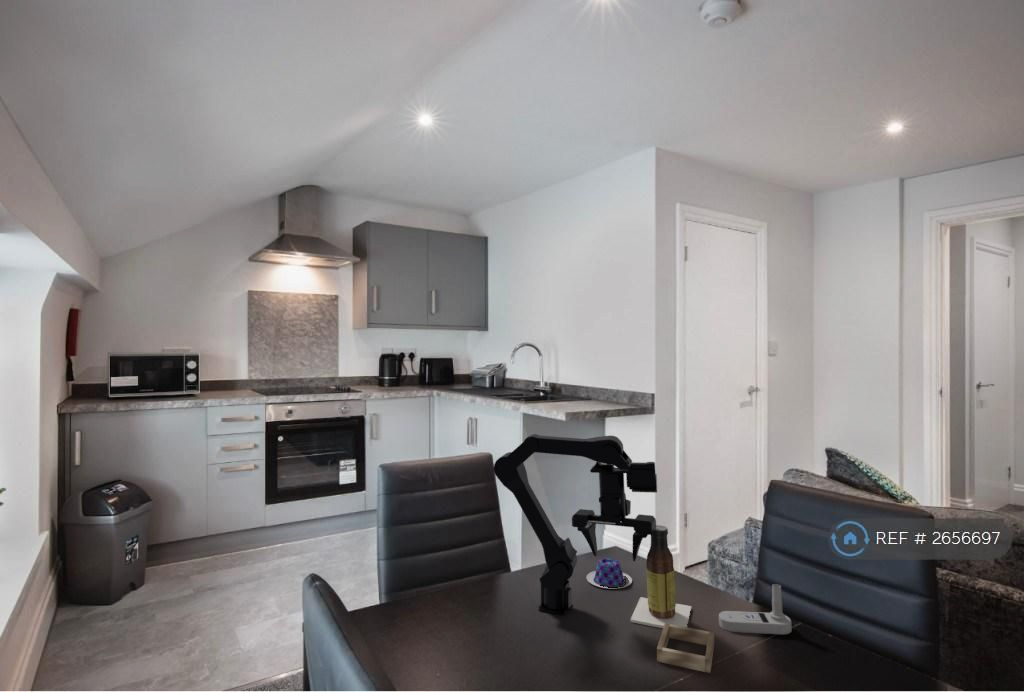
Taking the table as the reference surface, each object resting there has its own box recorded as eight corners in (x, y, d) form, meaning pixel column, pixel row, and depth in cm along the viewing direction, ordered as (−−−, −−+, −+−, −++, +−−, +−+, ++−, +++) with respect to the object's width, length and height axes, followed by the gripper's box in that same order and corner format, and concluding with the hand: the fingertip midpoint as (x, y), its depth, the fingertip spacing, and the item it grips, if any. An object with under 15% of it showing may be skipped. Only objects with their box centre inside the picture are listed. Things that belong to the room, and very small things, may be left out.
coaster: (630, 622, 125) (630, 619, 125) (640, 599, 136) (640, 597, 136) (685, 632, 120) (685, 630, 120) (691, 608, 131) (691, 606, 131)
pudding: (582, 572, 153) (582, 554, 153) (625, 571, 153) (625, 552, 153) (591, 592, 141) (591, 571, 141) (637, 590, 141) (637, 570, 141)
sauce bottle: (670, 606, 131) (669, 522, 131) (679, 619, 125) (679, 531, 125) (643, 607, 130) (642, 523, 130) (651, 620, 124) (651, 532, 124)
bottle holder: (656, 661, 109) (656, 648, 109) (665, 634, 119) (665, 623, 119) (710, 673, 105) (710, 660, 105) (714, 644, 115) (714, 632, 115)
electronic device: (715, 578, 126) (785, 581, 123) (717, 621, 126) (787, 624, 123) (720, 589, 121) (793, 591, 118) (721, 633, 121) (795, 637, 118)
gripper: (659, 485, 132) (662, 551, 132) (584, 480, 140) (587, 542, 140) (649, 497, 122) (652, 568, 121) (569, 491, 130) (572, 558, 129)
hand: (614, 558), depth 128 cm, fingers open, 9 cm apart
